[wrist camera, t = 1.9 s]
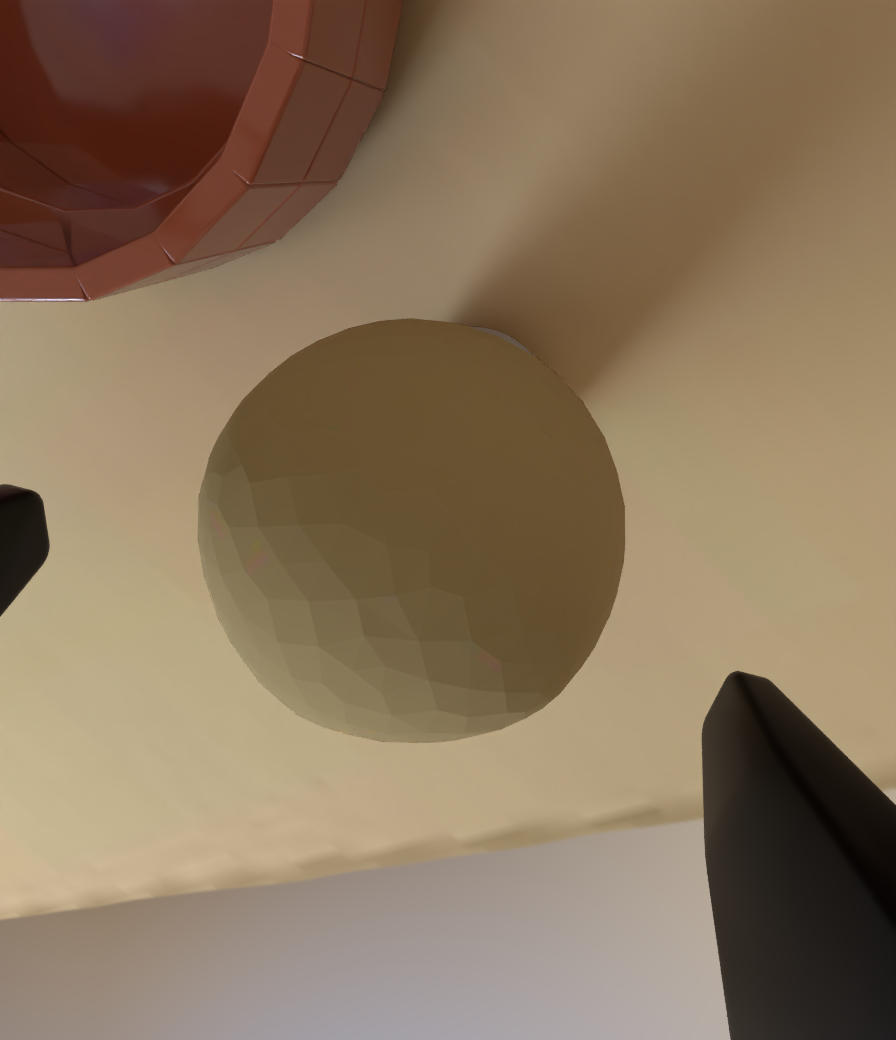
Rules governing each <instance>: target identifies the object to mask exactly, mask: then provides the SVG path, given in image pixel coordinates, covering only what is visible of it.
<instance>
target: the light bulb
mask: <svg viewBox="0 0 896 1040" xmlns="http://www.w3.org/2000/svg"><path fill="white" fill-rule="evenodd" d="M198 544H199V550H200V556H201V562H202V568H203V574H204V578H205V581H206V584H207V587H208V590H209V593H210V596H211V599H212V602H213V604H214V607H215V610H216V613H217V616H218V619H219V621H220V623H221V625H222V627H223V628H224V630H225V632H226V634H227V636H228V638H229V640H230V642H231V644H232V645H233V647H234V648H235V649H236V651H237V652H238V654H239V655H240V656H241V658H242V659H243V661H244V662H245V663H246V665H247V666H248V668H249V669H250V670H251V672H252V673H253V675H254V676H255V677H256V679H257V680H258V681H259V683H260V684H261V685H263V686H264V687H265V688H266V689H267V690H268V691H269V692H270V693H272V694H273V695H274V696H275V697H276V698H277V699H279V700H280V701H281V702H282V703H283V704H284V705H286V706H287V707H288V708H289V709H290V710H291V711H293V712H294V713H295V714H296V715H298V716H300V717H303V718H305V719H307V720H309V721H311V722H313V723H315V724H317V725H320V726H322V727H324V728H328V729H331V730H334V731H338V732H341V733H345V734H348V735H352V736H357V737H362V738H367V739H372V740H377V741H381V742H407V743H429V742H444V741H453V740H459V739H463V738H467V737H472V736H476V735H480V734H484V733H488V732H492V731H496V730H500V729H503V728H505V727H507V726H509V725H512V724H514V723H516V722H518V721H520V720H523V719H525V718H526V717H528V716H530V715H532V714H533V713H535V712H537V711H539V710H540V709H542V708H543V707H545V706H546V705H547V704H548V703H549V702H551V701H552V700H553V699H554V698H555V697H557V696H558V695H559V694H560V693H561V692H562V690H563V689H564V688H565V687H566V685H567V684H568V683H569V682H570V680H571V679H572V678H573V677H574V675H575V674H576V673H577V672H578V671H579V669H580V668H581V667H582V666H583V664H584V663H585V661H586V660H587V658H588V657H589V655H590V654H591V652H592V651H593V649H594V648H595V645H596V643H597V641H598V639H599V637H600V635H601V633H602V631H603V629H604V626H605V624H606V622H607V620H608V618H609V616H610V613H611V610H612V607H613V604H614V601H615V598H616V595H617V591H618V586H619V581H620V577H621V572H622V567H623V562H624V551H625V506H624V501H623V497H622V492H621V488H620V483H619V479H618V474H617V471H616V467H615V464H614V462H613V459H612V456H611V454H610V451H609V448H608V445H607V443H606V440H605V437H604V435H603V434H602V432H601V431H600V429H599V427H598V426H597V424H596V422H595V421H594V419H593V418H592V416H591V414H590V413H589V411H588V410H587V408H586V406H585V405H584V403H583V401H582V400H581V399H580V398H579V397H578V396H577V395H576V394H575V393H574V392H573V391H572V389H571V388H570V387H569V386H568V385H567V384H566V383H565V382H564V381H563V380H562V379H561V378H560V377H559V376H558V375H557V374H555V373H554V372H553V371H552V370H551V369H549V368H548V367H547V366H546V365H545V364H543V363H542V362H541V361H540V360H539V359H537V358H536V357H535V356H534V355H533V354H532V353H531V352H530V351H529V350H527V349H526V348H525V347H524V346H523V345H522V344H520V343H519V342H517V341H516V340H515V339H513V338H512V337H510V336H508V335H506V334H504V333H502V332H499V331H496V330H492V329H489V328H480V327H468V326H465V325H462V324H458V323H450V322H441V321H431V320H421V319H399V320H387V321H378V322H374V323H369V324H365V325H361V326H356V327H352V328H349V329H346V330H344V331H341V332H339V333H336V334H334V335H331V336H329V337H326V338H324V339H321V340H319V341H317V342H315V343H313V344H311V345H310V346H308V347H306V348H304V349H303V350H301V351H299V352H297V353H295V354H294V355H292V356H291V357H289V358H288V359H287V360H286V361H284V362H283V363H282V364H281V365H279V366H278V367H277V368H275V369H274V370H273V371H272V372H270V373H269V374H268V375H267V376H266V377H265V378H264V379H263V380H262V381H261V382H260V383H259V384H258V385H257V386H256V387H255V388H254V389H253V390H252V391H251V392H250V393H249V394H248V395H247V396H246V397H245V398H244V399H243V400H242V401H241V403H240V404H239V406H238V407H237V408H236V410H235V411H234V413H233V414H232V416H231V418H230V419H229V421H228V422H227V424H226V426H225V427H224V429H223V431H222V432H221V434H220V435H219V437H218V439H217V441H216V443H215V445H214V448H213V450H212V452H211V454H210V457H209V461H208V464H207V468H206V472H205V475H204V479H203V482H202V486H201V490H200V493H199V510H198Z"/></svg>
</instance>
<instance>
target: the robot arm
mask: <svg viewBox="0 0 896 1040" xmlns="http://www.w3.org/2000/svg"><path fill="white" fill-rule="evenodd" d="M48 552H49V537H48V530H47V524H46V517H45V511H44V504H43V500H42V499H41V497H40V495H39V494H38V493H36V492H35V491H32V490H29V489H25V488H21V487H17V486H13V485H7V484H2V485H0V616H1V615H2V614H3V613H4V612H5V610H6V609H7V608H8V607H9V605H10V604H11V603H12V602H13V600H14V599H15V598H16V597H17V596H18V594H19V593H20V592H21V591H22V589H23V588H24V587H25V586H26V584H27V583H28V582H29V581H30V580H31V578H32V577H33V576H34V575H35V573H36V572H37V571H38V570H39V569H40V567H41V566H42V565H43V563H44V562H45V560H46V558H47V556H48ZM702 768H703V807H704V839H705V857H706V866H707V875H708V882H709V889H710V896H711V903H712V911H713V918H714V925H715V932H716V939H717V946H718V953H719V960H720V967H721V975H722V982H723V989H724V996H725V1003H726V1010H727V1017H728V1024H729V1031H730V1038H731V1040H896V805H895V804H894V803H893V802H892V801H891V800H890V799H889V798H888V797H887V796H886V795H885V794H884V793H883V792H882V791H881V790H880V789H879V788H878V787H877V786H876V785H875V784H874V783H873V782H872V781H871V780H870V779H869V778H868V777H867V776H866V775H865V774H864V773H863V772H862V771H861V770H860V769H859V768H858V767H857V766H856V765H855V764H854V763H853V762H852V761H851V760H850V759H849V758H848V757H847V756H846V755H845V754H844V753H843V752H842V751H841V750H840V749H839V748H838V747H837V746H836V745H835V744H834V743H833V742H832V741H831V740H830V739H829V738H828V737H827V736H826V735H825V734H824V733H823V732H822V731H821V730H820V729H819V728H818V727H817V726H816V725H815V724H814V723H813V722H812V721H811V720H810V719H809V718H808V717H807V716H805V715H804V714H803V713H802V712H801V711H800V710H799V709H798V708H797V707H796V706H795V705H794V704H793V703H792V702H791V701H790V700H789V699H788V698H787V697H786V696H785V695H784V694H783V693H782V692H781V691H780V690H779V689H778V688H777V687H776V686H775V685H774V684H773V683H772V682H771V681H770V680H768V679H766V678H764V677H760V676H756V675H752V674H748V673H744V672H740V671H735V672H732V673H731V674H730V675H729V676H728V677H727V678H726V680H725V681H724V683H723V685H722V687H721V689H720V691H719V693H718V695H717V697H716V699H715V700H714V702H713V704H712V706H711V708H710V710H709V712H708V714H707V716H706V718H705V721H704V724H703V729H702Z"/></svg>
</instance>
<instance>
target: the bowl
mask: <svg viewBox="0 0 896 1040" xmlns="http://www.w3.org/2000/svg"><path fill="white" fill-rule="evenodd" d="M402 5H403V0H0V302H87V301H91V300H97V299H101V298H104V297H108V296H112V295H115V294H119V293H123V292H127V291H130V290H134V289H138V288H142V287H145V286H149V285H153V284H157V283H160V282H164V281H168V280H171V279H175V278H179V277H183V276H186V275H190V274H194V273H197V272H201V271H205V270H209V269H212V268H215V267H217V266H219V265H222V264H224V263H227V262H229V261H232V260H234V259H236V258H239V257H241V256H244V255H246V254H249V253H251V252H253V251H256V250H258V249H261V248H263V247H265V246H268V245H270V244H273V243H275V242H276V241H277V240H279V239H281V238H282V237H283V236H284V235H285V234H286V233H287V232H288V231H290V230H291V229H292V228H293V227H294V226H295V225H296V224H297V223H298V222H299V221H300V220H301V219H302V218H303V217H304V216H305V215H306V214H307V213H308V212H309V211H310V210H311V209H312V208H313V207H314V206H315V205H316V204H317V203H318V202H320V201H321V200H322V199H323V198H324V197H325V196H326V195H327V194H328V193H329V192H330V191H331V190H332V189H333V188H334V187H335V186H336V185H337V183H338V181H339V180H340V179H341V178H342V176H343V174H344V172H345V170H346V168H347V166H348V164H349V162H350V160H351V158H352V156H353V154H354V152H355V150H356V148H357V147H358V145H359V143H360V141H361V139H362V137H363V135H364V133H365V131H366V129H367V127H368V125H369V123H370V121H371V119H372V117H373V115H374V113H375V111H376V109H377V107H378V105H379V103H380V102H381V100H382V98H383V91H384V90H385V88H386V86H387V81H388V76H389V71H390V66H391V60H392V55H393V50H394V45H395V40H396V35H397V30H398V25H399V20H400V15H401V10H402Z"/></svg>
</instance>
